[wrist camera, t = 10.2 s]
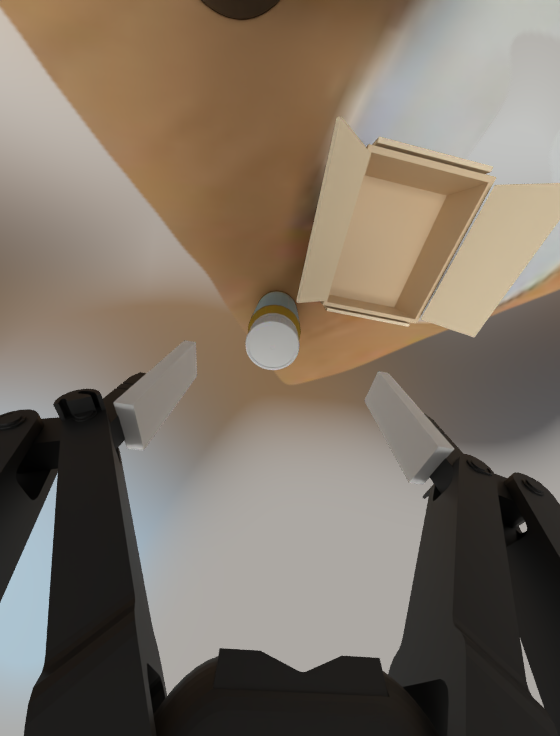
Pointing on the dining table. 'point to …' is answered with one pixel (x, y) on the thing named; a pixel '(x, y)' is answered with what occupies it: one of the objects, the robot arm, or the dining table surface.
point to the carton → (404, 230)
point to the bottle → (274, 332)
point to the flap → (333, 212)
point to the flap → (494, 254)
